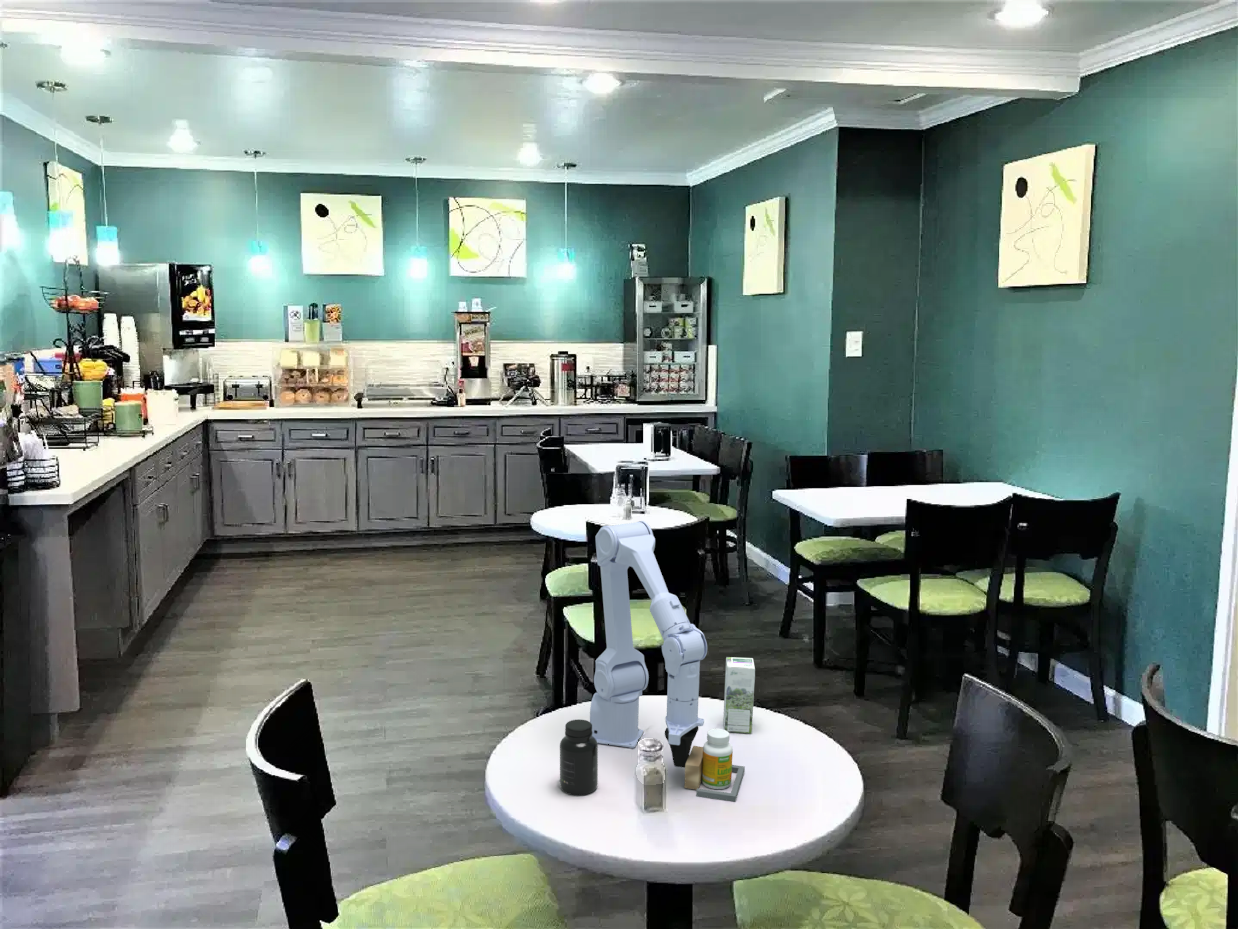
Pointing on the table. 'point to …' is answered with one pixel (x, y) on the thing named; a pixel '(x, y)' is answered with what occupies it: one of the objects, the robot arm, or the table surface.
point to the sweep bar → (694, 768)
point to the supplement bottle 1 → (578, 759)
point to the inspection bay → (725, 795)
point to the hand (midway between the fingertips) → (680, 765)
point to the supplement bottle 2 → (717, 760)
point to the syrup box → (739, 695)
